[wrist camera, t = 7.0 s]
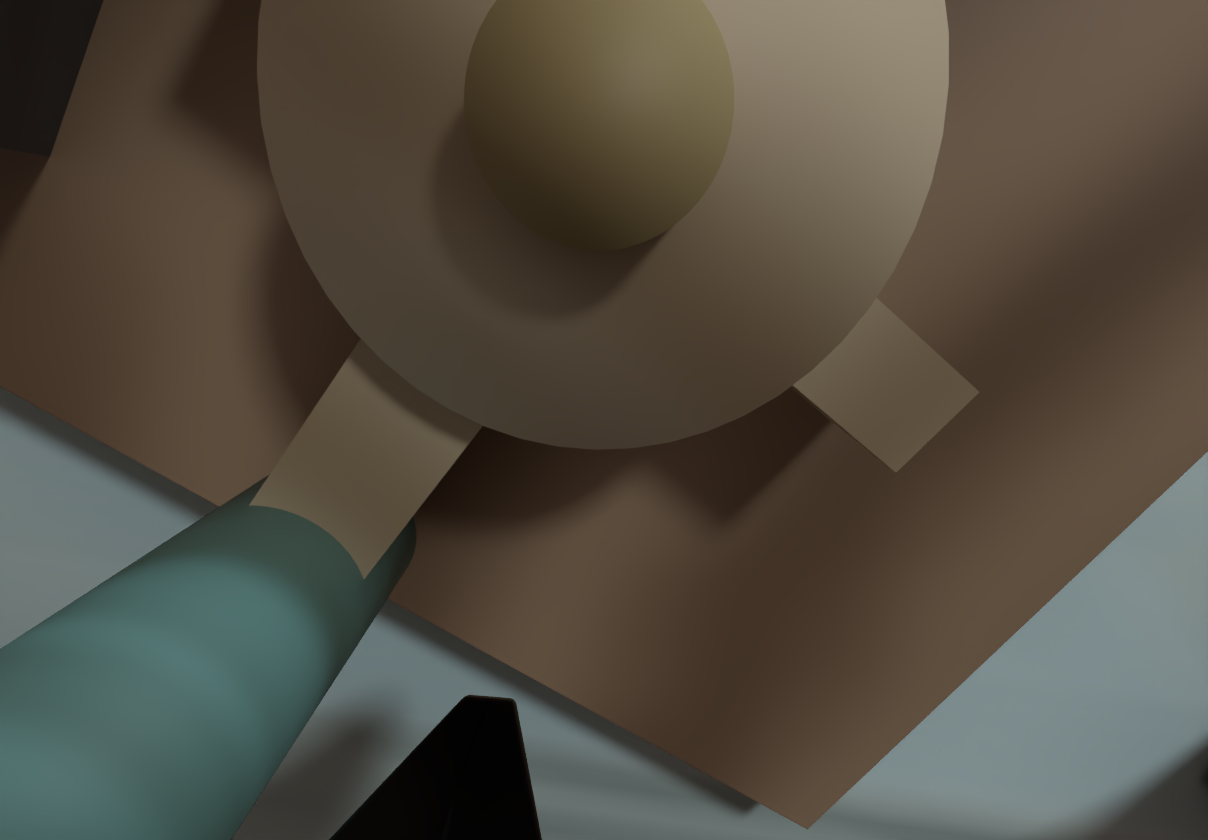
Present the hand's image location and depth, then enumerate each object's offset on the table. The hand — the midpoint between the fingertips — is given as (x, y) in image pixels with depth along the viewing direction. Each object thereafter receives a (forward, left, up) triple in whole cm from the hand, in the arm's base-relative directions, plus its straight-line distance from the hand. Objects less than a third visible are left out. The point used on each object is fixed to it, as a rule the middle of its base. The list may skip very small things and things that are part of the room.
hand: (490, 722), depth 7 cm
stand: (+2, -6, -5) cm, 8 cm away
